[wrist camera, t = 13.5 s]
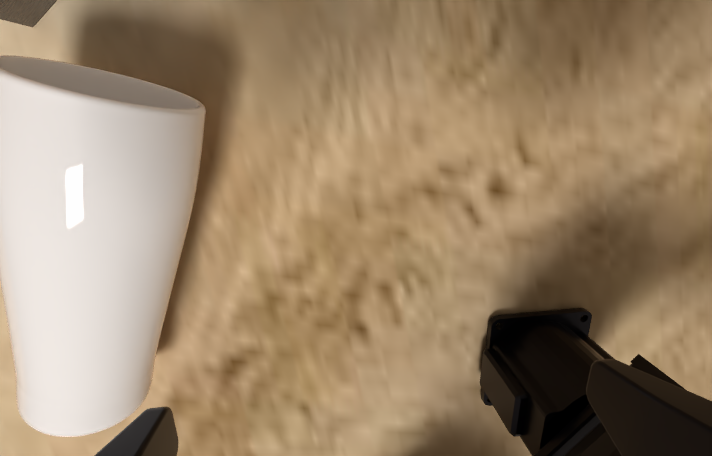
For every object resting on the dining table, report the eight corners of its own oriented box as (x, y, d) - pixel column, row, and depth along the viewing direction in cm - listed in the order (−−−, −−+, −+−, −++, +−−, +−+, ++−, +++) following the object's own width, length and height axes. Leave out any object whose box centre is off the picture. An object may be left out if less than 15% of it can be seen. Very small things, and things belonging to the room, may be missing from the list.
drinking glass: (45, 342, 21) (48, 53, 16) (178, 354, 23) (218, 100, 18) (-48, 459, 15) (-91, 51, 10) (144, 461, 17) (191, 123, 12)
